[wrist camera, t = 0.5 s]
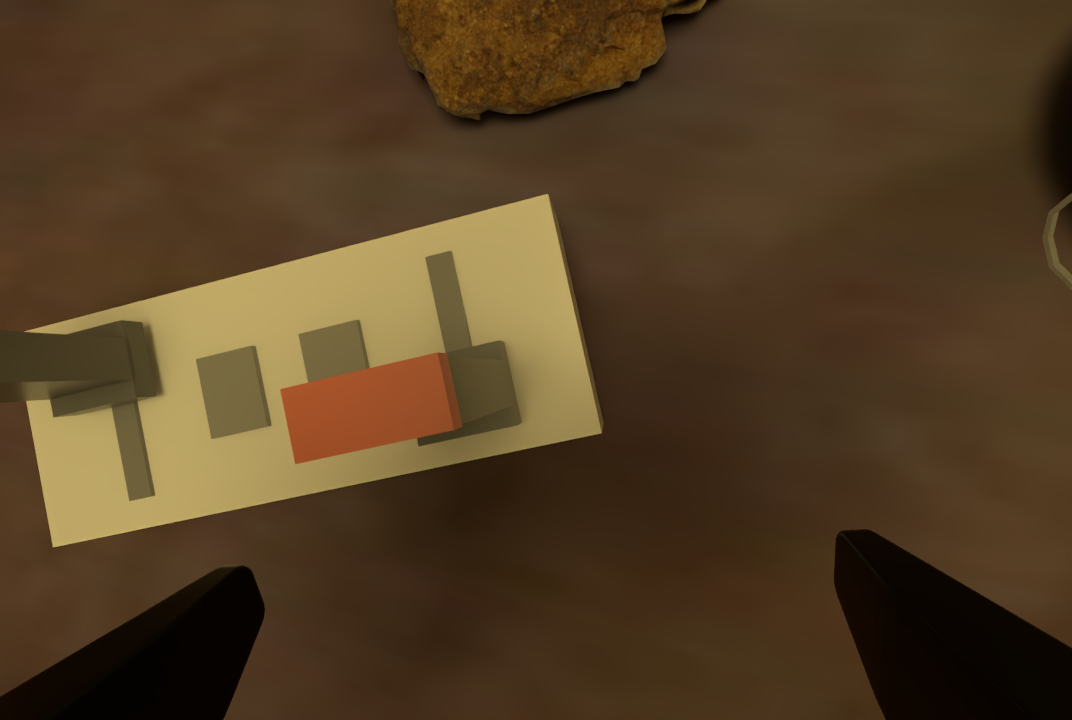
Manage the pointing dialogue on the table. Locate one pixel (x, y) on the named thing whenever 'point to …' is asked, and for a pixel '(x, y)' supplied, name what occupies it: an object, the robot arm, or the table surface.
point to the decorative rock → (529, 48)
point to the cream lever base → (317, 371)
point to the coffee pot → (1050, 243)
